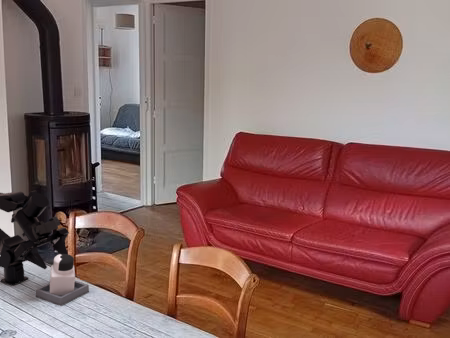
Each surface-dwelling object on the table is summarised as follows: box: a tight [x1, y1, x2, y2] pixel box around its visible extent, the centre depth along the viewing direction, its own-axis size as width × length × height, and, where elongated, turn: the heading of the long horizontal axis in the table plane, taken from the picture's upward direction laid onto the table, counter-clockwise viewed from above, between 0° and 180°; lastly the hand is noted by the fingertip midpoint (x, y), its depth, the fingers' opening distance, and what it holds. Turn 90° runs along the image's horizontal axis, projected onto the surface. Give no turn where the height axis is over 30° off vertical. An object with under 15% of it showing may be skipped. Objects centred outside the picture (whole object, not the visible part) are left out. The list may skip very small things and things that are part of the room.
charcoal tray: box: [34, 280, 90, 307], centre depth 161 cm, size 12×12×2 cm
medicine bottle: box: [49, 253, 76, 296], centre depth 159 cm, size 7×7×12 cm
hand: (56, 263), depth 160 cm, fingers open, 9 cm apart
